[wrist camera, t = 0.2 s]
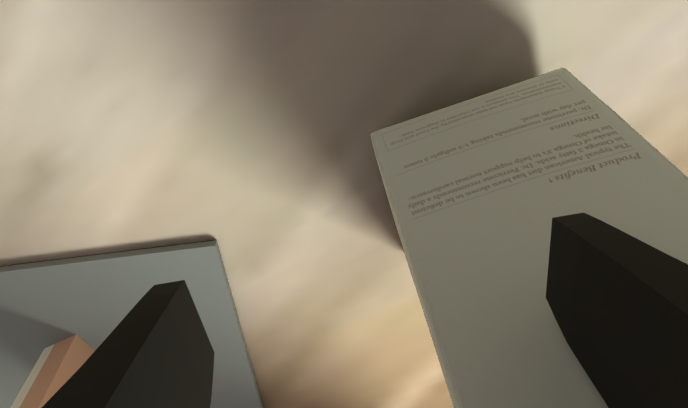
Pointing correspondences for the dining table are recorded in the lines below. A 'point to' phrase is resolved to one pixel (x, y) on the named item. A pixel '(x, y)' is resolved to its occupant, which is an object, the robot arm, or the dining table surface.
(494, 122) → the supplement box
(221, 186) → the dining table surface
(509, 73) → the dining table surface
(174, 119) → the dining table surface
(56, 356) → the terracotta tile
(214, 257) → the felt mat
